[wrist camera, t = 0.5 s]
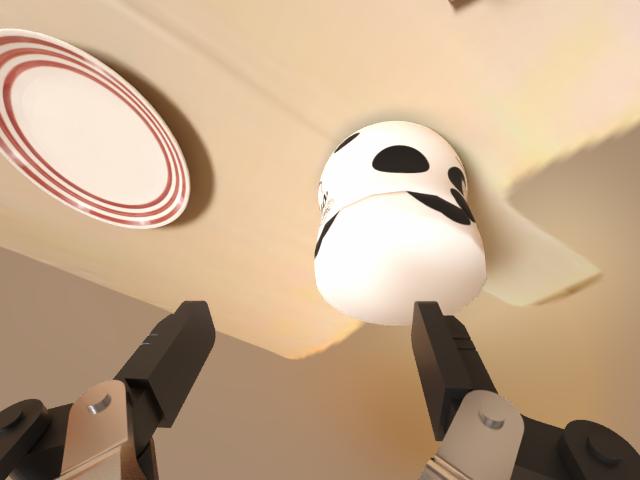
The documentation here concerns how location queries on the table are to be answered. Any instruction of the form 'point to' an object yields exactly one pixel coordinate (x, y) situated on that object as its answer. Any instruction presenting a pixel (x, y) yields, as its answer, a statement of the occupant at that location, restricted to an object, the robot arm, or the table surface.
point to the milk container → (396, 226)
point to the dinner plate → (87, 134)
